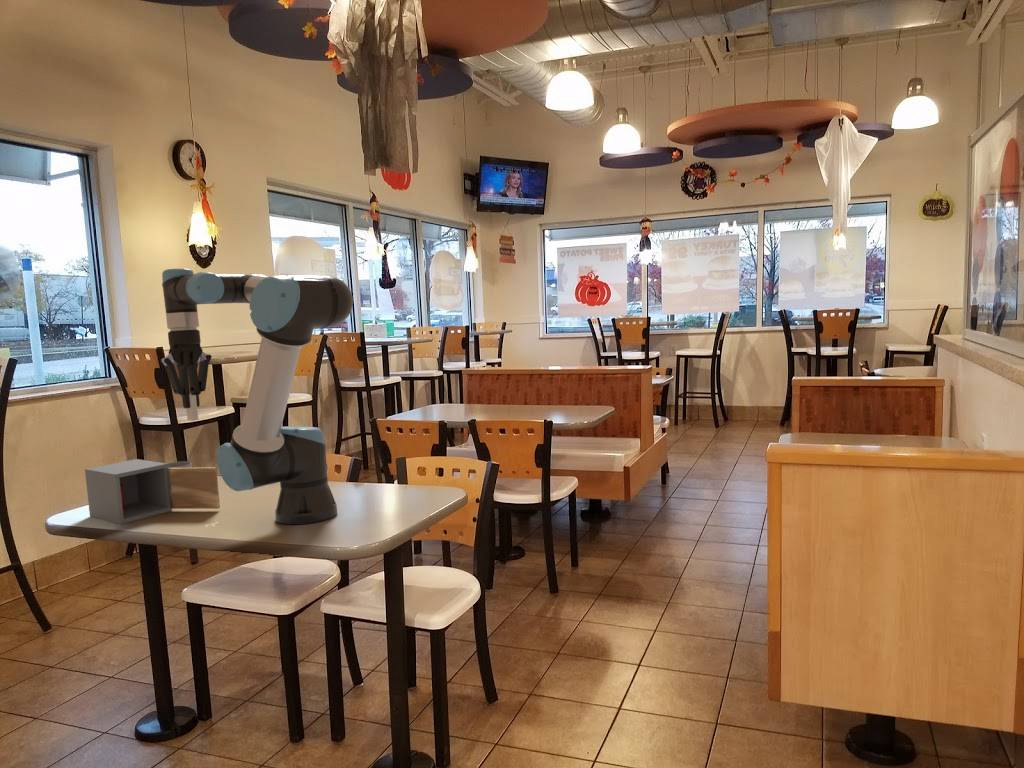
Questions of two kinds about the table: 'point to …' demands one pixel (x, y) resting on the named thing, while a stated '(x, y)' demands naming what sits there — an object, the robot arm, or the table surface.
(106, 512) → the grey open box
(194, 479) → the wooden cabinet door
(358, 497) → the table surface
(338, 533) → the table surface
